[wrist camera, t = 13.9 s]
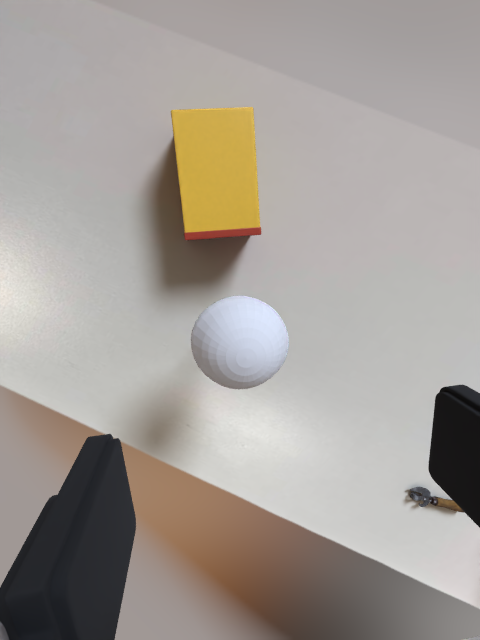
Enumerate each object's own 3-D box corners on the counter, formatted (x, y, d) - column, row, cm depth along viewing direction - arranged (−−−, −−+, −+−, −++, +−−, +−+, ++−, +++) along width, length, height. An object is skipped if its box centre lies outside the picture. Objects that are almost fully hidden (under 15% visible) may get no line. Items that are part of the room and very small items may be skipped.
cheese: (174, 132, 28) (169, 109, 23) (244, 129, 29) (254, 106, 24) (186, 240, 30) (184, 240, 25) (251, 235, 31) (261, 234, 26)
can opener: (464, 501, 43) (471, 508, 42) (455, 515, 43) (461, 522, 42) (411, 481, 41) (416, 488, 40) (401, 496, 41) (407, 503, 40)
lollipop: (262, 284, 32) (315, 321, 18) (246, 339, 33) (283, 415, 19) (202, 267, 31) (204, 293, 17) (187, 325, 32) (178, 395, 18)
